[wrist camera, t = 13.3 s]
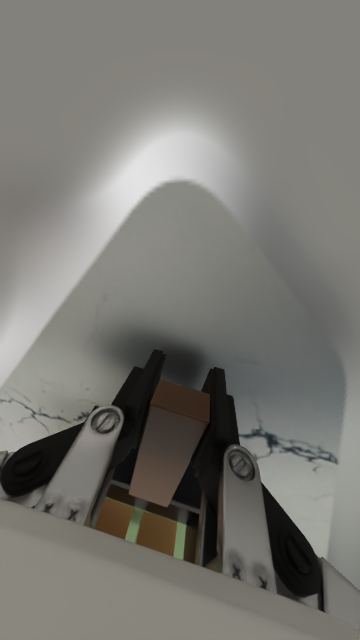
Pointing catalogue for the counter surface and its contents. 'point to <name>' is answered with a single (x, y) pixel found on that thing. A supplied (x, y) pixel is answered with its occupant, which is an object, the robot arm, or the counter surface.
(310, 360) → the counter surface
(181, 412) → the pan
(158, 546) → the block
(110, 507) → the block
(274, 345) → the counter surface
